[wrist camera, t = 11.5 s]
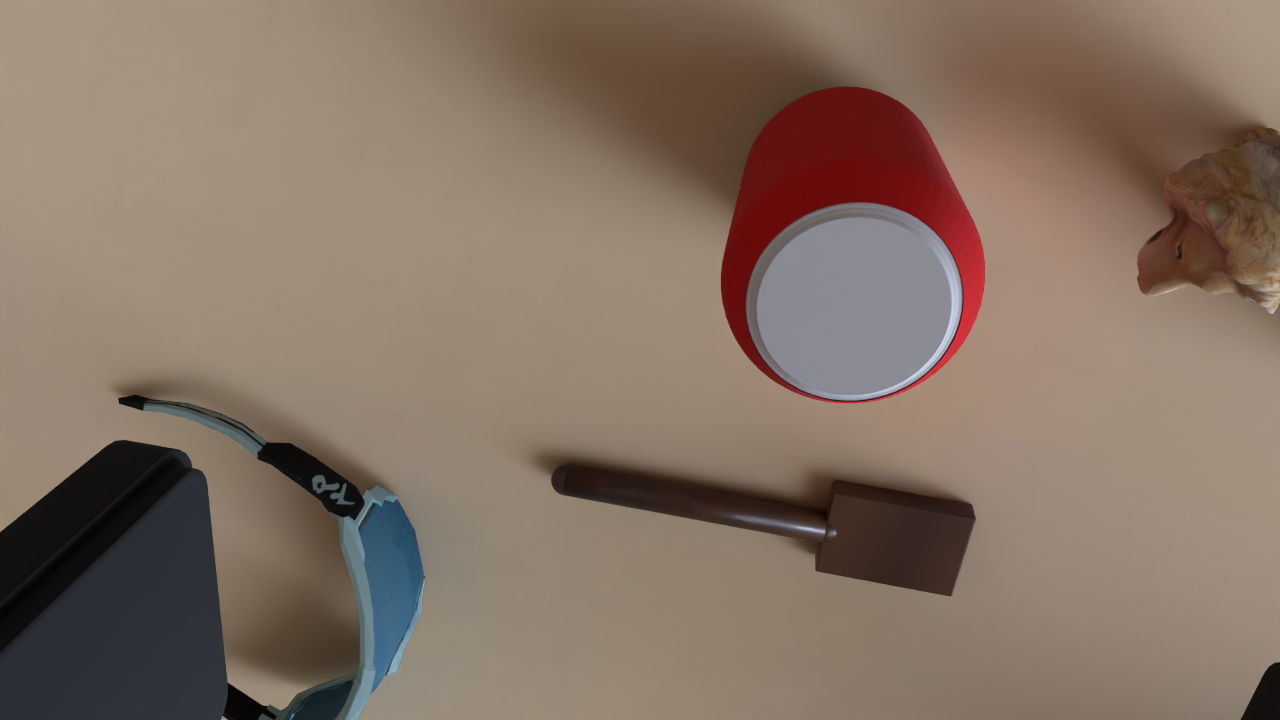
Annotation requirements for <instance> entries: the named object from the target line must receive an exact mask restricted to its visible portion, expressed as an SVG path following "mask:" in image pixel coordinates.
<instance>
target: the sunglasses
mask: <svg viewBox="0 0 1280 720" xmlns="http://www.w3.org/2000/svg"><path fill="white" fill-rule="evenodd" d="M118 400H119V404H122V405H126V406H129V407H132V408H136V409H139V410H145V411H155V412H164V413H168V414H172V415H176V416H180V417H184V418H187V419H190V420H193V421H196V422H198V423H201V424H203V425H206V426H208V427H210V428H213V429H215V430H217V431H219V432H221V433H223V434H225V435H227V436H229V437H231V438H233V439H234V440H236V441H238V442H240V443H241V444H242V445H243V446H244V447H245V448H246V449H247V450H249V451H250V452H251V453H252V454H253V455H254V456H255V457H257V459H258V460H261V461H263V462H266V463H268V464H271V465H272V466H274V467H275V468H277V469H278V470H279V471H281V472H282V473H283V474H285V475H286V476H288V477H289V478H290V479H292V480H293V481H295V482H296V483H297V484H299V485H300V486H301V487H303V488H304V489H306V490H307V491H308V492H310V493H311V494H312V495H314V496H315V497H317V498H318V499H319V500H321V502H322V503H323V505H324V506H325V508H326V509H327V511H329V512H331V515H332V516H333V517H334V518H336V519H337V520H338V522H339V543H340V547H341V550H342V553H343V556H344V559H345V562H346V565H347V568H348V571H349V574H350V578H351V581H352V584H353V587H354V590H355V595H356V602H357V609H358V616H359V624H360V661H359V668H358V671H356V672H355V673H353V674H350V675H347V676H344V677H341V678H338V679H335V680H332V681H329V682H325V683H322V684H319V685H316V686H313V687H311V688H309V689H307V690H305V691H303V692H300V693H298V694H297V695H296V696H295V697H294V698H293V700H292V701H291V702H290V704H289V705H288V706H287V707H286V708H285V709H283V710H279V709H277V708H275V707H273V706H271V705H269V706H263V705H261V704H259V703H258V702H256V701H255V700H253V699H252V698H250V697H249V696H247V695H246V694H244V693H243V692H241V691H240V690H238V689H237V688H235V687H234V686H232V685H231V684H229V683H228V682H227V683H228V696H227V702H226V706H225V710H224V713H223V716H224V717H225V718H226V719H228V720H290V719H291V718H292V719H291V720H357V718H358V717H359V715H360V713H361V711H362V709H363V707H364V706H365V704H366V702H367V700H368V698H369V697H370V695H371V694H372V692H373V691H374V690H375V689H376V688H377V686H378V685H379V683H380V682H381V680H382V679H383V677H384V676H385V674H386V675H389V674H392V673H394V672H395V670H396V669H397V667H398V665H399V663H400V662H401V660H402V653H403V651H404V649H405V647H406V645H407V643H408V641H409V639H410V637H411V635H412V633H413V630H414V628H415V626H416V624H417V622H418V620H419V618H420V616H421V608H422V599H423V591H424V582H425V576H423V569H422V564H421V559H420V554H419V549H418V544H417V540H416V535H415V530H414V528H413V527H412V525H411V523H410V521H409V519H408V518H407V516H406V514H405V512H404V510H403V509H402V507H401V505H400V503H399V501H398V500H397V496H398V495H396V494H394V493H392V492H390V491H387V490H385V489H383V488H381V487H379V486H376V487H374V488H373V489H371V490H370V491H368V490H366V491H364V492H363V493H362V494H360V492H359V491H358V489H357V487H356V486H355V485H353V484H352V483H350V482H349V481H348V480H346V479H345V478H343V477H342V476H340V475H339V474H338V473H336V472H335V471H333V470H332V469H330V468H329V467H328V466H326V465H325V464H323V463H322V462H321V461H319V460H318V459H316V458H315V457H313V456H311V455H310V454H308V453H306V452H305V451H303V450H301V449H300V448H298V447H296V446H295V445H293V444H291V443H268V442H267V441H265V440H264V439H263V438H261V437H260V436H259V435H257V434H256V433H255V432H253V431H252V430H251V429H250V428H248V427H247V426H246V425H244V424H242V423H240V422H238V421H236V420H234V419H231V418H229V417H227V416H225V415H223V414H220V413H217V412H214V411H211V410H207V409H204V408H201V407H198V406H195V405H192V404H189V403H180V402H171V401H163V400H154V399H149V398H145V397H141V396H137V395H132V396H127V397H122V398H118ZM370 507H372V508H371V510H370V512H369V513H368V515H367V517H366V519H365V521H364V522H363V524H362V526H361V528H360V529H359V531H358V527H359V525H360V523H361V522H362V520H363V518H364V516H365V515H366V513H367V511H368V509H369V508H370Z"/></svg>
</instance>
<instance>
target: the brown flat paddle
mask: <svg viewBox="0 0 1280 720" xmlns="http://www.w3.org/2000/svg"><path fill="white" fill-rule="evenodd" d="M551 483H552V486H553V488H554V490H555V491H556V492H558V493H559V494H561V495H566V496H571V497H576V498H582V499H587V500H592V501H598V502H603V503H609V504H614V505H619V506H625V507H630V508H636V509H641V510H646V511H652V512H657V513H663V514H668V515H673V516H679V517H684V518H689V519H695V520H700V521H706V522H711V523H716V524H722V525H727V526H733V527H738V528H743V529H749V530H754V531H760V532H765V533H770V534H776V535H781V536H787V537H792V538H797V539H803V540H808V541H813V542H818V547H817V551H816V555H815V569H816V571H818V572H823V573H829V574H834V575H839V576H845V577H850V578H855V579H860V580H866V581H871V582H876V583H882V584H887V585H892V586H898V587H903V588H908V589H914V590H919V591H924V592H930V593H935V594H940V595H946V596H952V594H953V590H954V587H955V584H956V581H957V578H958V575H959V571H960V568H961V565H962V562H963V559H964V556H965V552H966V549H967V546H968V543H969V540H970V536H971V533H972V530H973V527H974V524H975V521H976V518H975V514H974V510H973V507H972V505H971V504H965V503H960V502H954V501H949V500H943V499H938V498H932V497H926V496H921V495H915V494H910V493H904V492H899V491H893V490H887V489H882V488H876V487H871V486H865V485H860V484H854V483H849V482H843V481H837V480H834V481H833V483H832V487H831V491H830V496H829V500H828V504H827V508H826V511H821V510H816V509H810V508H805V507H799V506H794V505H788V504H783V503H777V502H772V501H766V500H761V499H755V498H750V497H745V496H739V495H734V494H728V493H723V492H717V491H712V490H706V489H701V488H695V487H690V486H684V485H679V484H673V483H668V482H662V481H657V480H651V479H646V478H641V477H635V476H630V475H624V474H619V473H613V472H608V471H602V470H597V469H591V468H586V467H580V466H575V465H569V464H565V465H561V466H559V467H557V468H556V469H555V470H554V472H553V474H552V477H551Z"/></svg>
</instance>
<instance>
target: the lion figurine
mask: <svg viewBox="0 0 1280 720" xmlns="http://www.w3.org/2000/svg"><path fill="white" fill-rule="evenodd" d="M1163 191H1164V193H1165V196H1164V198H1163V200H1164V202H1165V204H1166V205H1167V207H1168V208H1169V210H1170V213H1171V215H1172V216H1173V220H1172V222H1171V223H1170V224H1169V225H1168V226H1166V227H1165V228H1163V229H1161V230H1160V231H1158V232H1157V233H1156V234H1155V235H1154V236H1152V237H1151V238H1149V239H1148V240H1147V241H1146V243H1145V245H1144V247H1143V248H1142V249H1141V250H1140V252H1139V254H1138V261H1137V265H1138V271H1139V274H1138V277H1137V280H1138V284H1139V287H1140V290H1141V291H1142V293H1144V294H1145V295H1148V296H1158V295H1160V294H1163V293H1166V292H1171V291H1174V290H1176V289H1178V288H1180V287H1184V286H1187V285H1196V286H1198V287H1200V288H1202V289H1204V290H1206V291H1207V292H1209V293H1211V294H1221V293H1227V292H1234V293H1236V294H1237V295H1239V296H1241V297H1243V299H1245V300H1250V301H1252V302H1254V303H1258V304H1259V305H1261V306H1262V307H1264V308H1265V310H1266V311H1268V312H1269V313H1270V314H1273V313H1274V311H1275V310H1276V309H1277V307H1278V305H1279V303H1280V134H1279V132H1277V131H1276V130H1274V129H1271V128H1257V129H1255V130H1252V131H1250V132H1248V133H1246V134H1245V135H1244V136H1243V137H1242V139H1241V141H1240V142H1239V143H1238V145H1237V147H1236V148H1235V149H1222V150H1220V151H1218V152H1216V153H1209V154H1204V155H1203V156H1201V158H1200V159H1196V160H1192V161H1190V162H1189V163H1187V164H1186V165H1184V166H1183V167H1182V168H1181V169H1180V170H1179V171H1178V172H1175V173H1173V174H1171V175H1170V176H1169V177H1168V178H1167V179H1166V181H1165V184H1164V187H1163Z"/></svg>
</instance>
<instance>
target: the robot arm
mask: <svg viewBox="0 0 1280 720" xmlns="http://www.w3.org/2000/svg"><path fill="white" fill-rule="evenodd" d="M227 696H228V683H227V674H226V664H225V654H224V644H223V634H222V624H221V614H220V605H219V595H218V585H217V575H216V565H215V555H214V546H213V536H212V526H211V516H210V506H209V496H208V487H207V481H206V477H205V475H204V474H203V472H202V471H200V470H198V469H193V468H192V464H191V460H190V459H189V457H188V456H187V454H186V453H185V452H183V451H181V450H178V449H173V448H167V447H161V446H156V445H150V444H144V443H139V442H133V441H127V440H119V441H114V442H113V443H111V444H109V445H108V446H106V447H105V448H103V449H102V450H101V451H100V452H99V453H97V454H96V455H95V456H94V457H92V458H91V459H90V460H89V461H87V462H86V463H85V464H84V465H83V466H81V467H80V468H79V469H78V470H76V471H75V472H74V473H73V474H71V475H70V476H69V477H68V478H66V479H65V480H64V481H63V482H62V483H60V484H59V485H58V486H57V487H55V488H54V489H53V490H52V491H50V492H49V493H48V494H47V495H46V496H44V497H43V498H42V499H41V500H39V501H38V502H37V503H36V504H34V505H33V506H32V507H31V508H30V509H28V510H27V511H26V512H25V513H23V514H22V515H21V516H20V517H18V518H17V519H16V520H15V521H14V522H12V523H11V524H10V525H9V526H7V527H6V528H5V529H4V530H2V531H1V532H0V720H221V718H222V716H223V713H224V710H225V706H226V702H227ZM1241 720H1280V662H1278V663H1274V664H1272V665H1271V666H1269V667H1268V669H1267V670H1266V672H1265V673H1264V675H1263V677H1262V679H1261V681H1260V683H1259V685H1258V687H1257V689H1256V691H1255V693H1254V694H1253V696H1252V698H1251V700H1250V702H1249V704H1248V706H1247V708H1246V710H1245V712H1244V714H1243V716H1242V718H1241Z"/></svg>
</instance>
